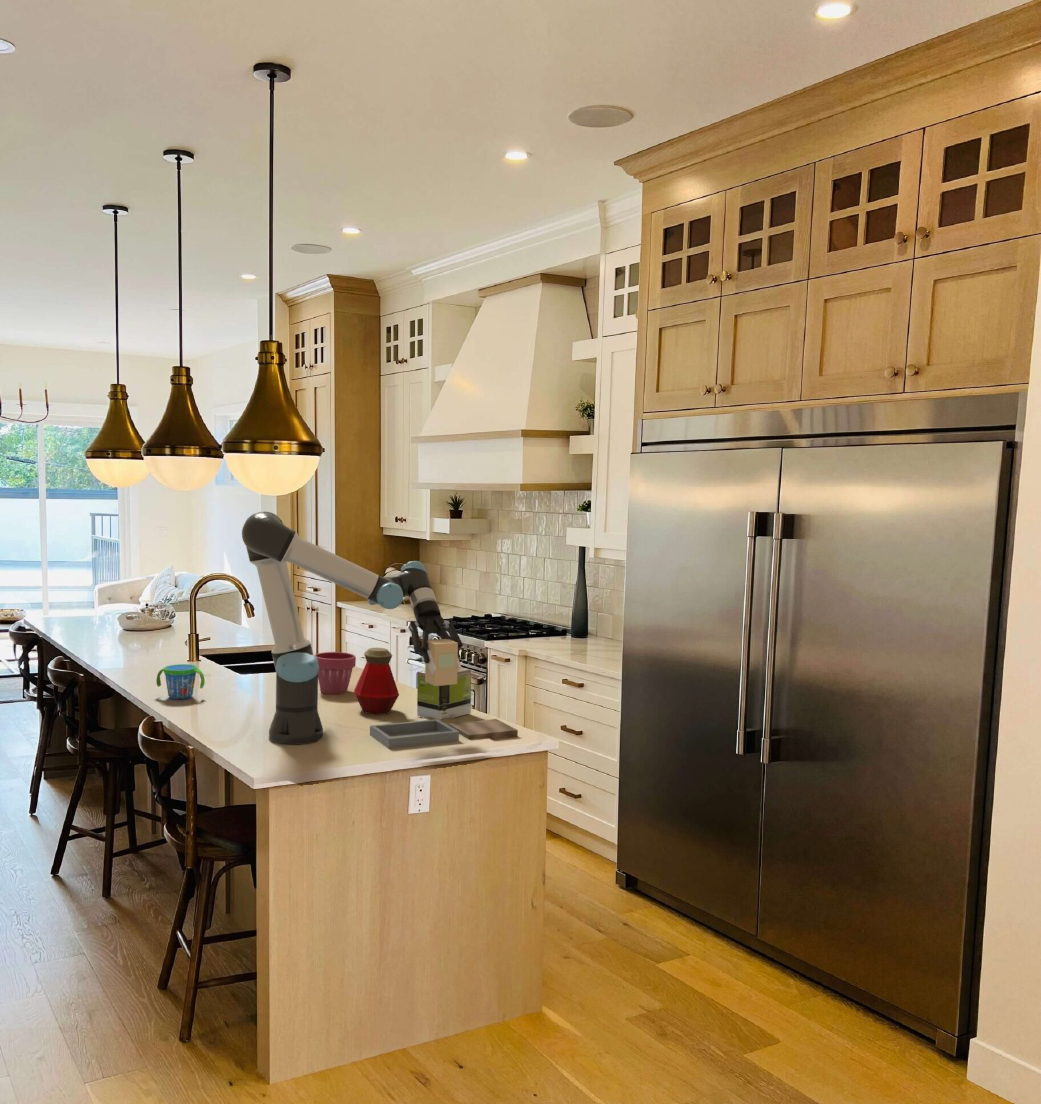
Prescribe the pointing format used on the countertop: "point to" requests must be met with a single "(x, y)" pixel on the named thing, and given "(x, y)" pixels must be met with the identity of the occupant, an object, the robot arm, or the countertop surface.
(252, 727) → the countertop surface
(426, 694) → the tea box
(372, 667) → the bottle
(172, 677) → the snack cup
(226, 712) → the countertop surface
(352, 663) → the plant pot
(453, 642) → the box
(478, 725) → the walnut board
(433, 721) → the bin
